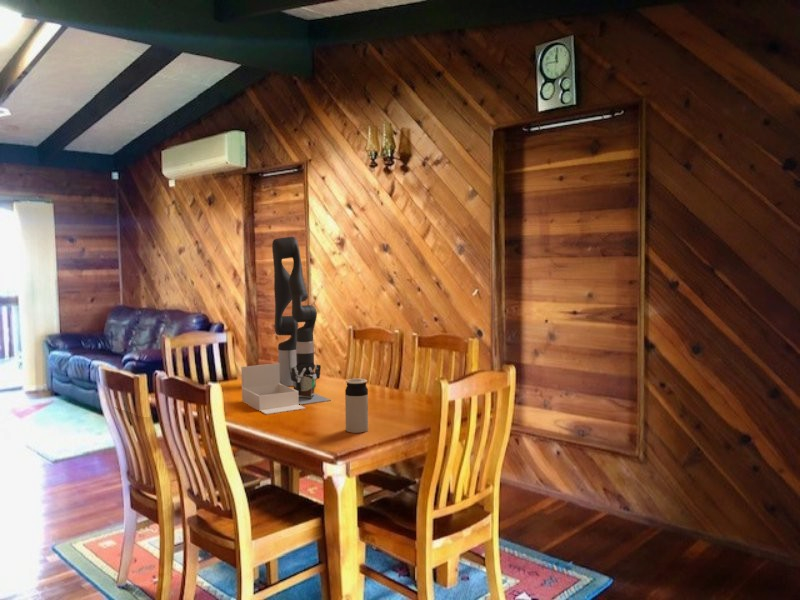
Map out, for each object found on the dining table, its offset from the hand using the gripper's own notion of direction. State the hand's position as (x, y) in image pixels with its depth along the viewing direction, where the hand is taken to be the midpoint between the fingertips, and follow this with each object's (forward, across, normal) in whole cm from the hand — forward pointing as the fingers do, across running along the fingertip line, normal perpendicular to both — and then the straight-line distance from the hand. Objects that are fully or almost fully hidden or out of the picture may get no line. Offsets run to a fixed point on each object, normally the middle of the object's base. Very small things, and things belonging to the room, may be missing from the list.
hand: (305, 389), depth 280 cm
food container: (+3, -1, 0) cm, 3 cm away
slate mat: (+4, 0, 0) cm, 4 cm away
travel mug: (+4, +7, +57) cm, 58 cm away
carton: (+4, +17, +4) cm, 17 cm away
